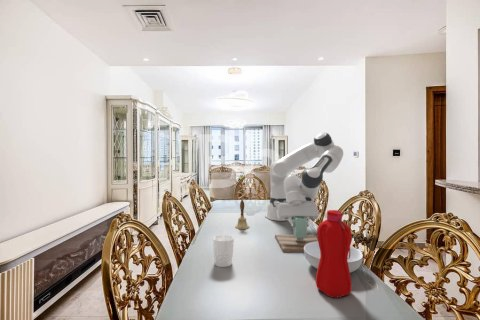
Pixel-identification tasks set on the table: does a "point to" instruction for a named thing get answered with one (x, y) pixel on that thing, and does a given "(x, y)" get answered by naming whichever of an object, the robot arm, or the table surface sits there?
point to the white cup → (223, 250)
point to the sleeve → (300, 227)
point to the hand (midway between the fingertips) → (300, 226)
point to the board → (293, 242)
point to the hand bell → (242, 218)
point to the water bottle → (334, 255)
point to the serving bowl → (314, 256)
